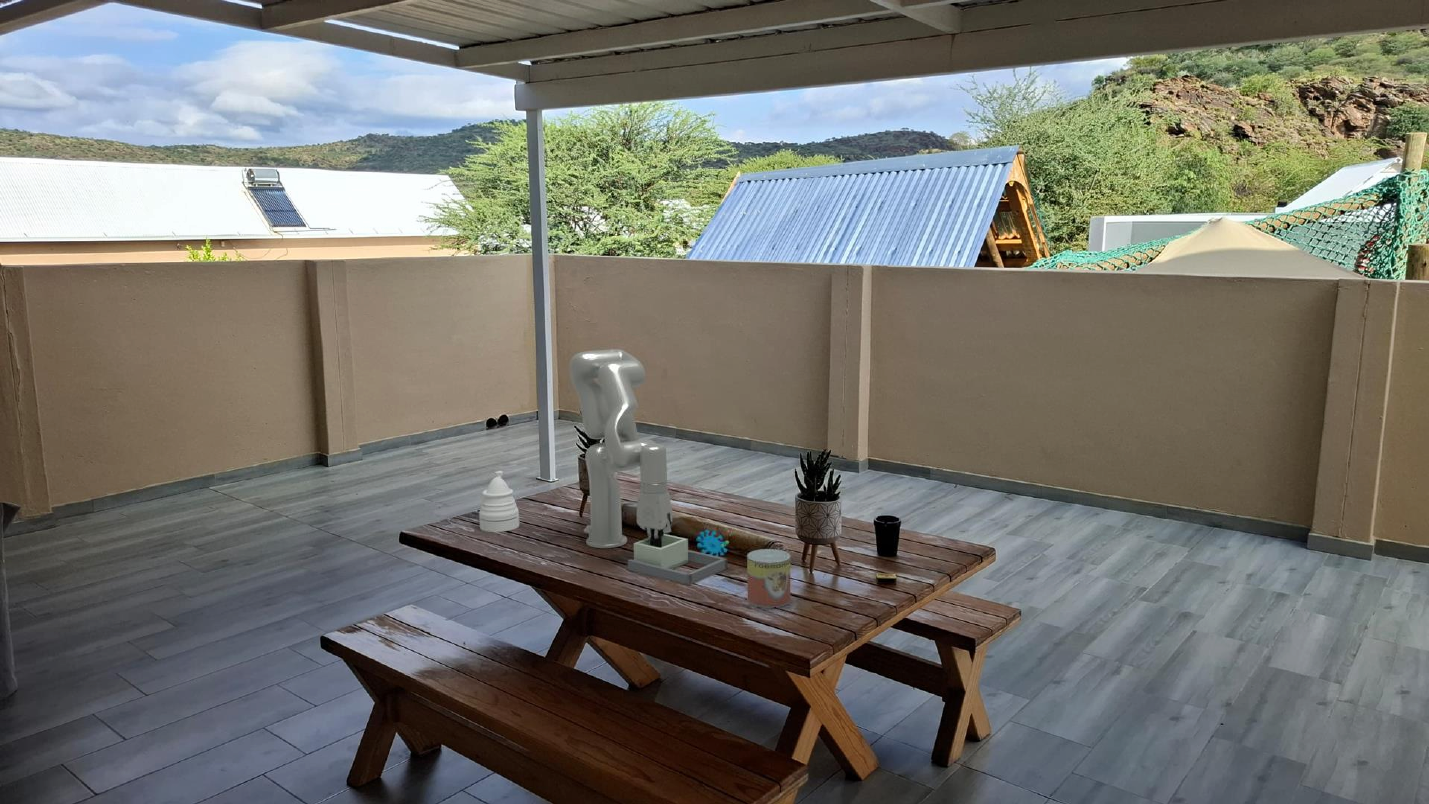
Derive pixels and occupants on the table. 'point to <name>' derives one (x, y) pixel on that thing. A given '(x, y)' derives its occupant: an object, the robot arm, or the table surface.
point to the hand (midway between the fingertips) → (656, 550)
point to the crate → (663, 552)
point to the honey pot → (498, 507)
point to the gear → (711, 543)
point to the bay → (712, 567)
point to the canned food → (768, 578)
